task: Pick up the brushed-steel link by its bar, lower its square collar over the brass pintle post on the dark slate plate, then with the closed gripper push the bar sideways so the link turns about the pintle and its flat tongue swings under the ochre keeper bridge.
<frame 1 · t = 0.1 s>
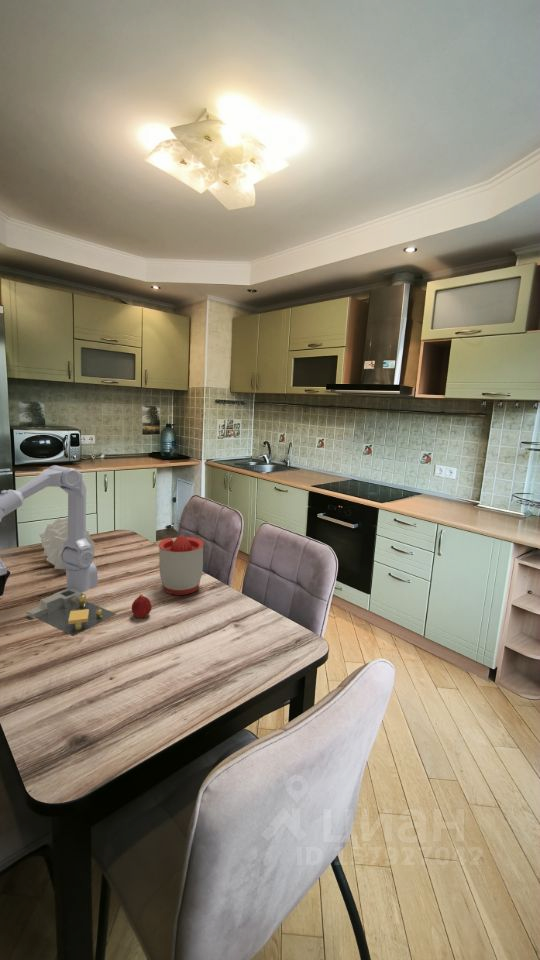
plate: (71, 615, 127), on the table
pintle: (82, 605, 132), resting on plate
onion: (141, 618, 127), on the table
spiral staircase: (68, 563, 167), on the table
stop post: (99, 616, 125), resting on plate
keeper: (79, 624, 120), resting on plate
link: (37, 614, 125), point 1 cm above the table, touching plate
citrus juicer: (181, 588, 149), on the table
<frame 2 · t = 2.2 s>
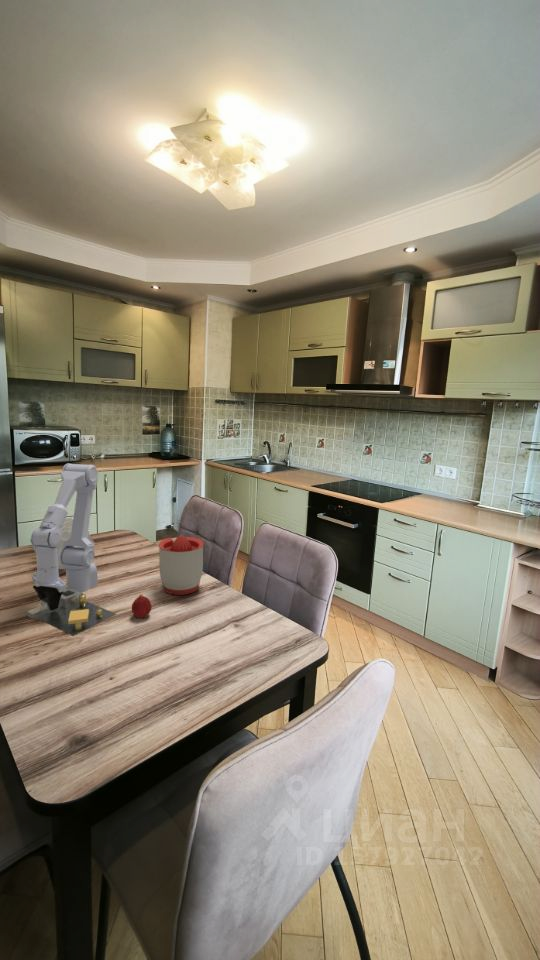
hand: (50, 607, 128), 2 cm above the table, tool pointing down, fingers closed on link, 4 cm apart
link: (37, 614, 125), point 1 cm above the table, touching gripper, plate
everything else where it was.
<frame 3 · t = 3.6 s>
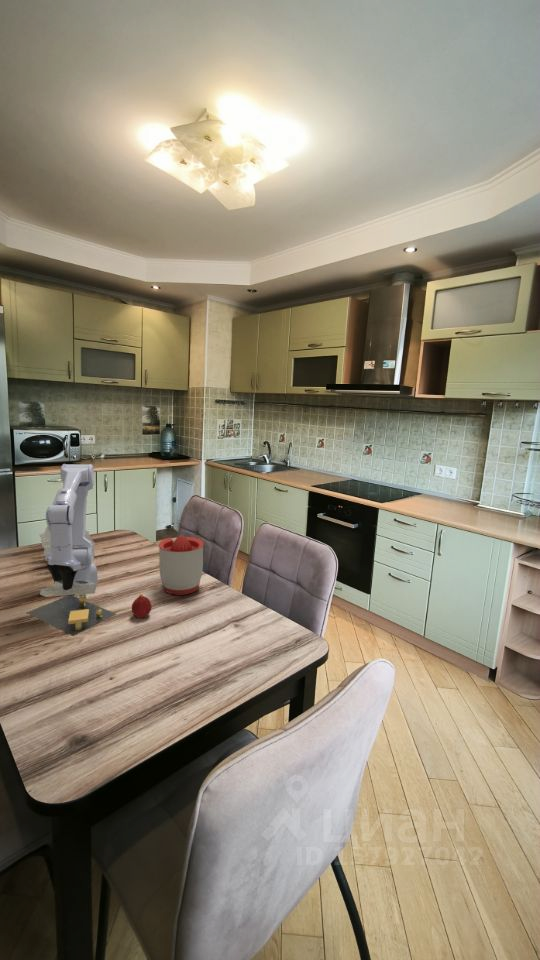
hand: (63, 587, 125), 9 cm above the table, tool pointing down, fingers closed on link, 4 cm apart
link: (49, 594, 121), point 9 cm above the table, tilted 16°, touching gripper
everything else where it was.
when the fingers open (3 cm above the table, at t = 5.2 s): link stays where it is, resting on plate.
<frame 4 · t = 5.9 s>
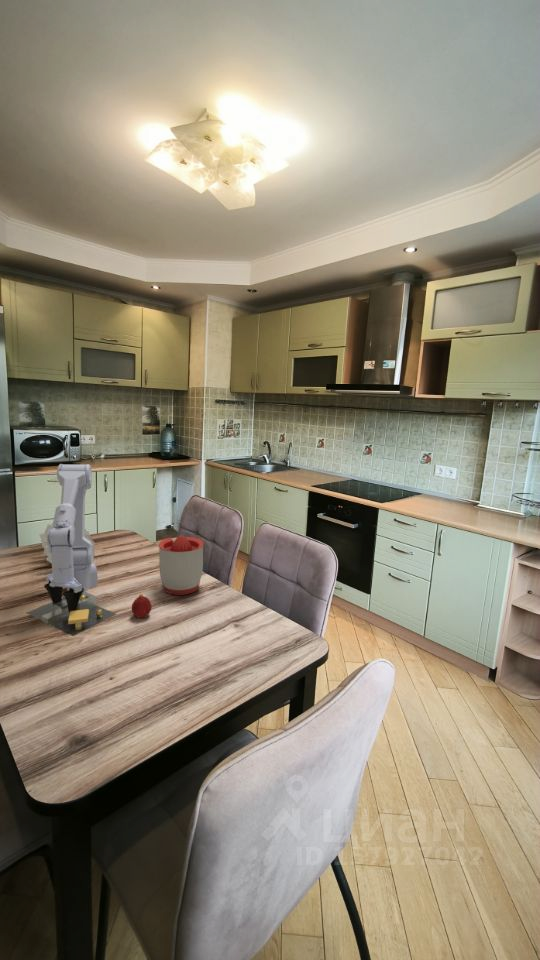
hand: (65, 608, 126), 3 cm above the table, tool pointing down, fingers open, 7 cm apart
link: (51, 619, 123), point 1 cm above the table, touching plate
everything else where it was.
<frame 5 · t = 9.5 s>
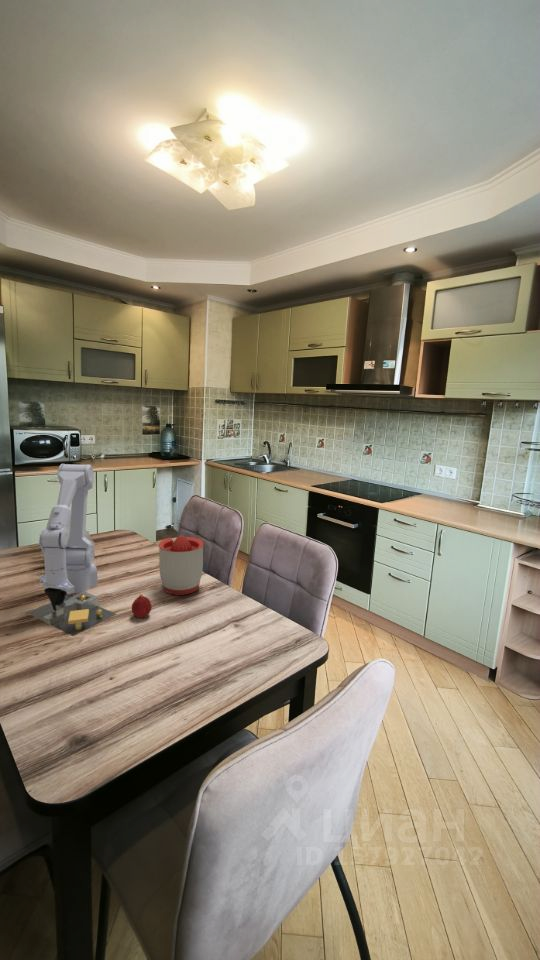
hand: (58, 609, 127), 2 cm above the table, tool pointing down, fingers closed
link: (53, 620, 122), point 1 cm above the table, touching gripper, plate
everything else where it was.
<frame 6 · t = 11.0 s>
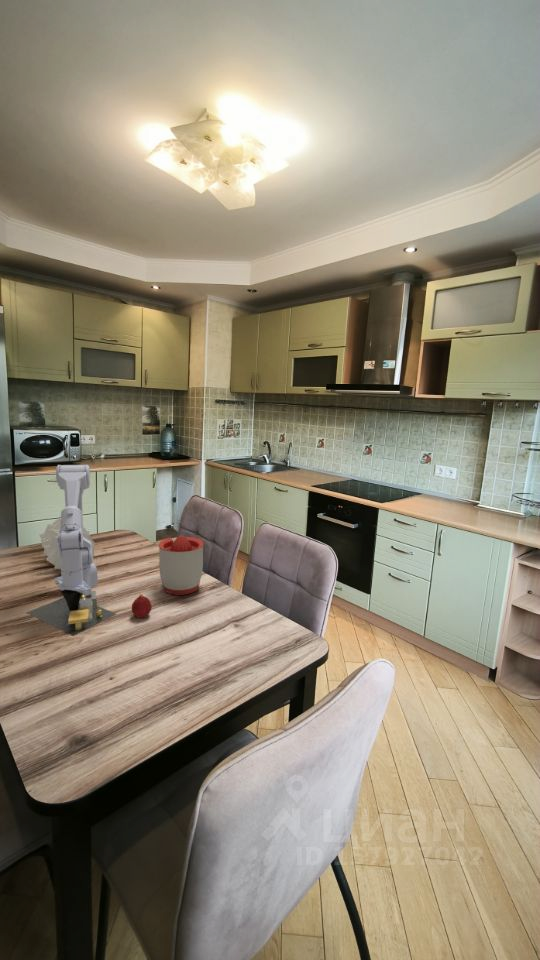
hand: (73, 611, 126), 2 cm above the table, tool pointing down, fingers closed, pressing on link
link: (86, 620, 123), point 1 cm above the table, touching gripper, pintle, plate
everything else where it was.
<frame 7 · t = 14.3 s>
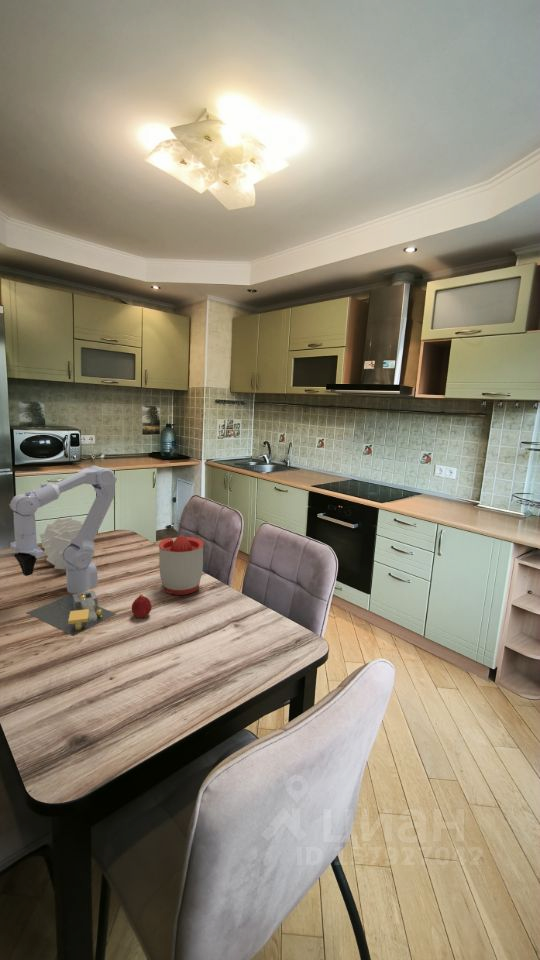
hand: (28, 574, 130), 10 cm above the table, tool pointing down, fingers closed
link: (90, 619, 124), point 1 cm above the table, touching plate
everything else where it was.
at the end: link 2.9 cm from the target spot on the table beside the pintle, resting on plate; link 3.8 cm from the keeper (horizontally); the gripper is holding nothing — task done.
